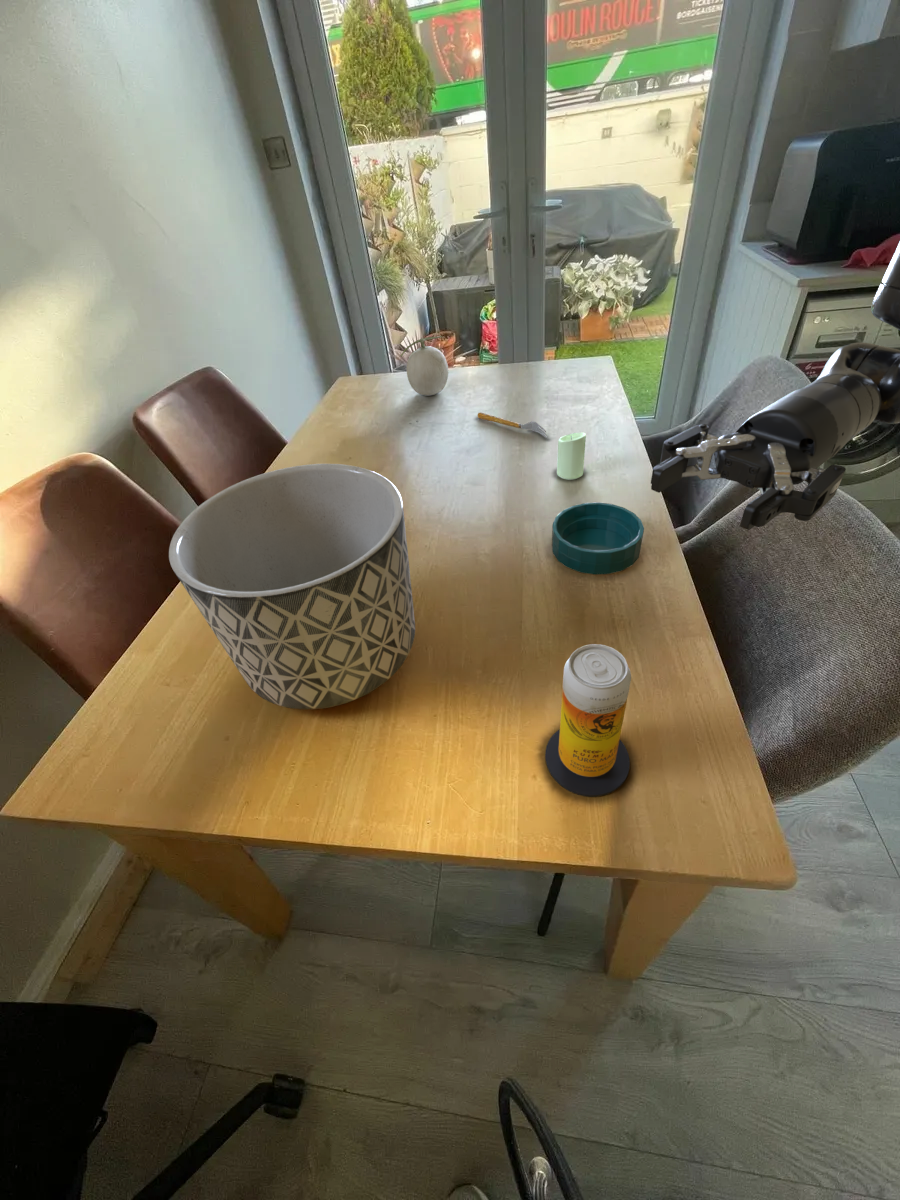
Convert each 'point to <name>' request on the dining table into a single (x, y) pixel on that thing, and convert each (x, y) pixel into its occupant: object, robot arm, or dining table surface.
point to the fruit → (427, 369)
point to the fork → (513, 423)
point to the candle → (571, 456)
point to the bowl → (597, 538)
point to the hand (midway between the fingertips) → (698, 499)
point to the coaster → (582, 783)
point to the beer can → (593, 709)
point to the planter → (303, 581)
